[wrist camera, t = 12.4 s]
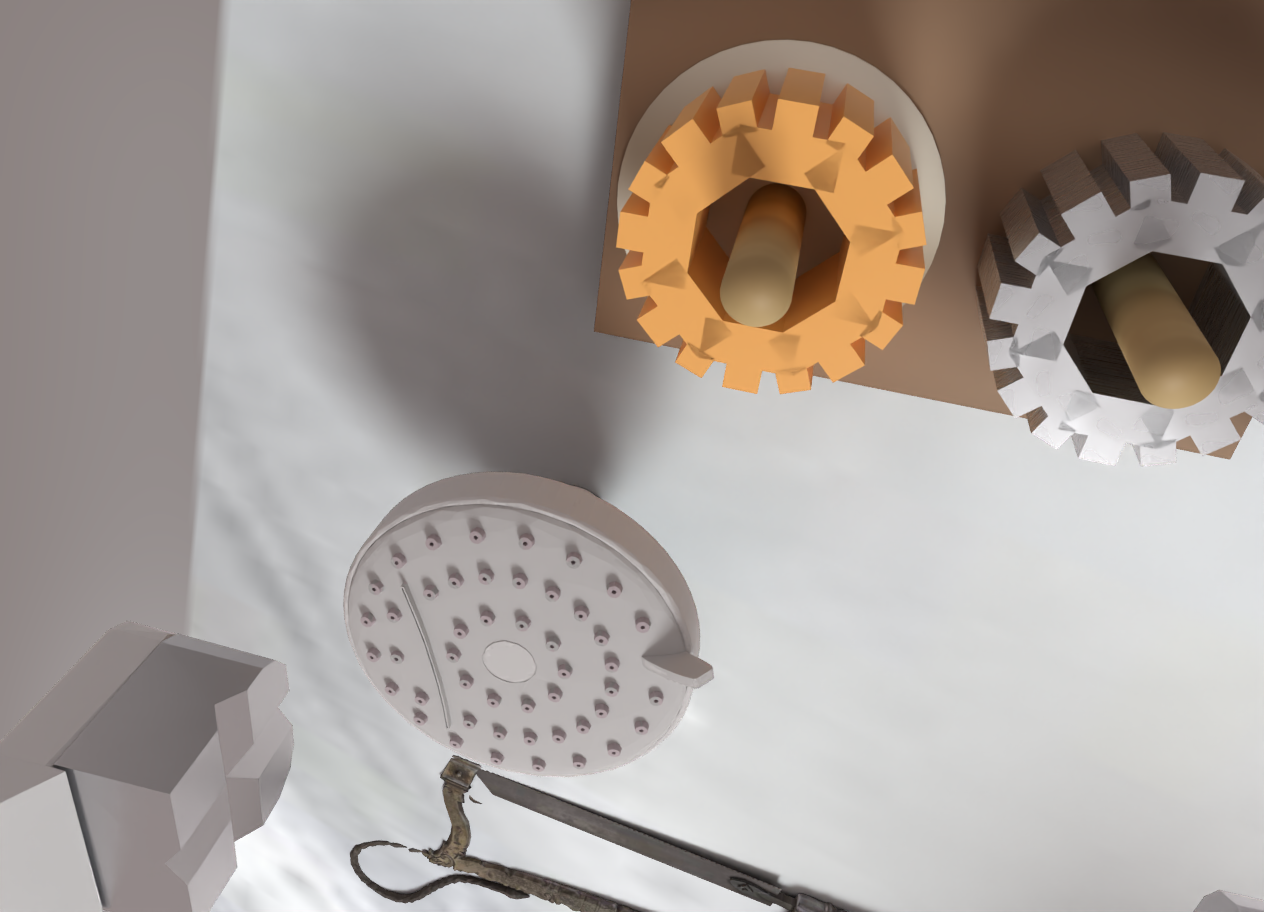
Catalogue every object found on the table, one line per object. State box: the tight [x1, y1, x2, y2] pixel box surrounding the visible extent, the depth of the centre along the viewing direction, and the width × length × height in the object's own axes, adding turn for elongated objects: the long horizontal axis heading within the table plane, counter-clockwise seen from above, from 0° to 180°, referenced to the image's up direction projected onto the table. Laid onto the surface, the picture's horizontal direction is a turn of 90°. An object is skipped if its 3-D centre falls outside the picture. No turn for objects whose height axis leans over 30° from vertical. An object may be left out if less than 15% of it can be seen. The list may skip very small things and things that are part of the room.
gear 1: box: [616, 68, 926, 394], centre depth 23 cm, size 6×6×3 cm
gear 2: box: [976, 132, 1264, 467], centre depth 22 cm, size 6×6×3 cm
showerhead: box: [343, 472, 714, 777], centre depth 29 cm, size 9×7×10 cm
